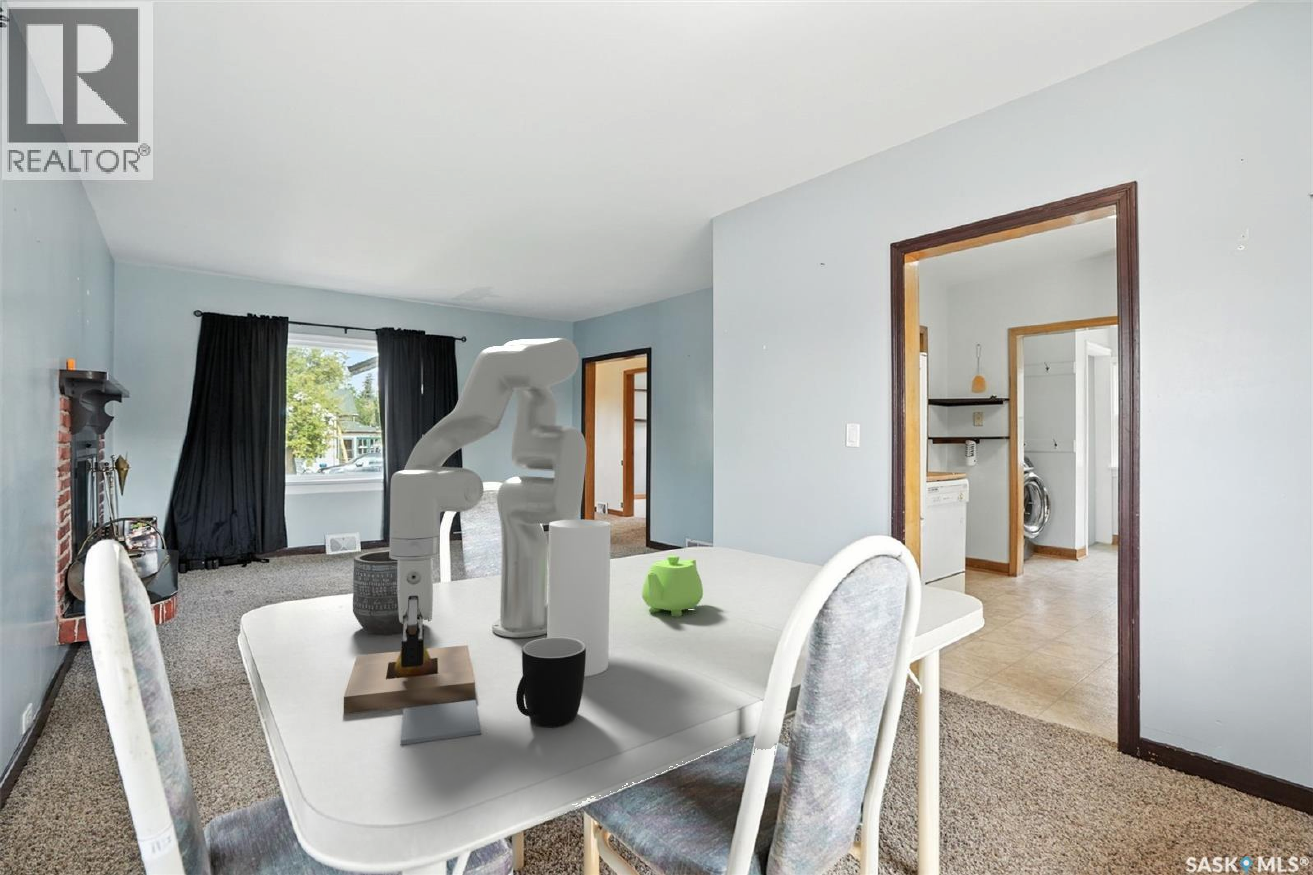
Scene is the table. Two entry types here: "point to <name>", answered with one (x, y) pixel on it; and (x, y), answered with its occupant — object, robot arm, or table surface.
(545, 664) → the mug
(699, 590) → the teapot
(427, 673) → the fruit
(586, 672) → the tall pillar cylinder
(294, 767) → the table surface
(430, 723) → the coaster
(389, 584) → the planter
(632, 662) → the table surface
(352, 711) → the block with square hole
